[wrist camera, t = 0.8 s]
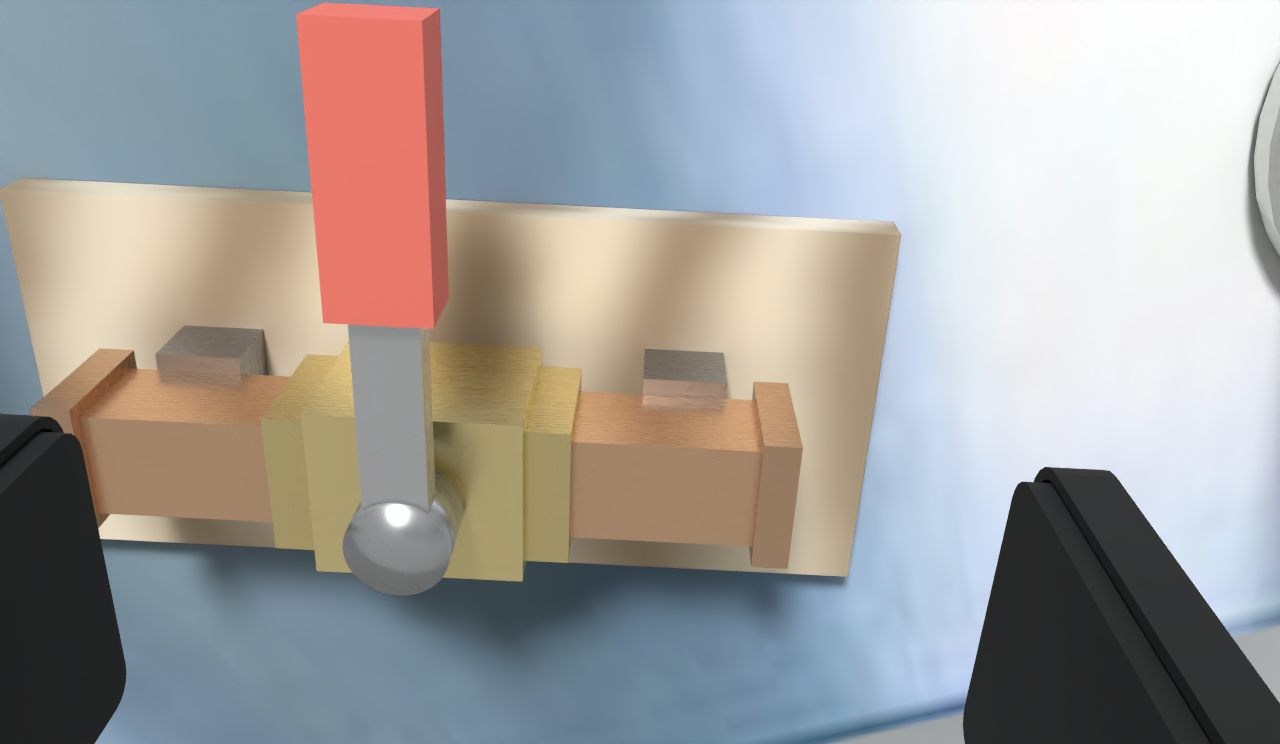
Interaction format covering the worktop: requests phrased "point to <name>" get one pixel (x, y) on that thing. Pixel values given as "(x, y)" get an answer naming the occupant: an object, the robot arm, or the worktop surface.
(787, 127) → the worktop surface
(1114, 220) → the worktop surface
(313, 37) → the valve lever
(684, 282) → the board
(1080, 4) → the worktop surface
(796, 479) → the valve body
